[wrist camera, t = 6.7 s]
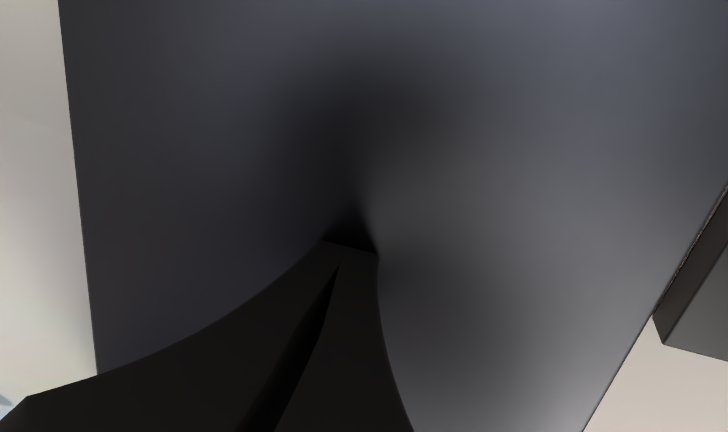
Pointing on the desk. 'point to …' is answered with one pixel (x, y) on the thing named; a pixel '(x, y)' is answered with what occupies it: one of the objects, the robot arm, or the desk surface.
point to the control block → (700, 295)
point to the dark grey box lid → (404, 177)
